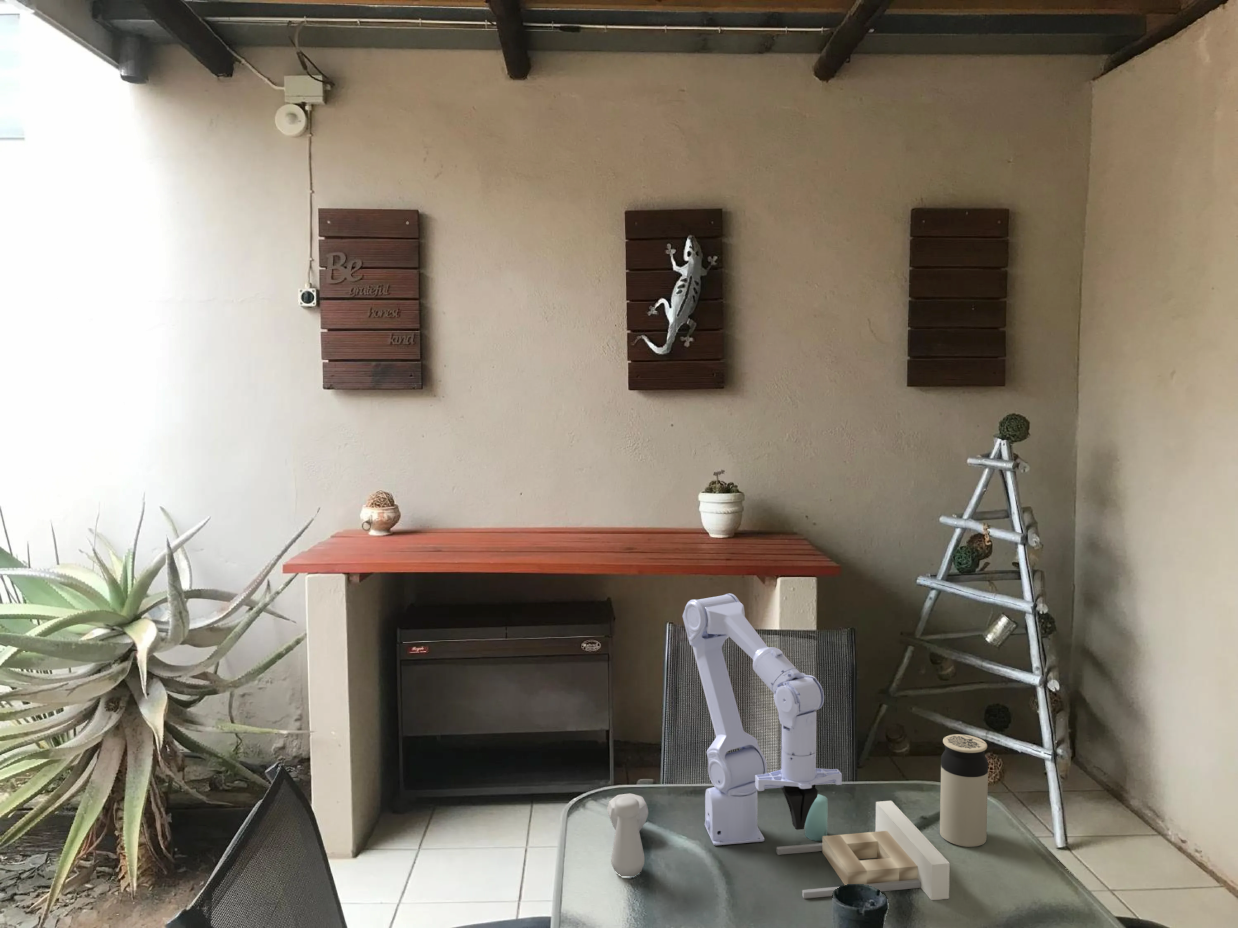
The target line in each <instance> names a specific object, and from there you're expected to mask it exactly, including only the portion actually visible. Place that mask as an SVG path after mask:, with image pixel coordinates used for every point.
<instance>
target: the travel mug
mask: <svg viewBox="0 0 1238 928" xmlns="http://www.w3.org/2000/svg"><path fill="white" fill-rule="evenodd" d="M942 743H943V744H944V751H943V753H942V754H941V756H940V796H939V797H940V798H939V799H940V803H939V807H940V808H939V835H940V836H941V838H943V839H944V840H945V841H947V842H948V843H951V844H952V845H955V846H959V847H966V848H973V847H978V846H979V847H980V846H981V845H984V844H985V843H986V842H987V833H988V832H987V830H988V829H987V828H988V827H987V825H988V793H989V792H988V791H989V790H988V789H989V787H988V785H989V760H988V759H987V757H986V754H985V752H986V751H987V748H988V744H987V742H986V741H984V740H983V739H981V738H979V737H977V736H974V735H970V734H956V733H955V734H949V735H947V736H944V737H943V739H942Z"/></svg>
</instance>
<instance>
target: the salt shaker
mask: <svg viewBox="0 0 1238 928" xmlns="http://www.w3.org/2000/svg"><path fill="white" fill-rule="evenodd" d="M639 806H640V805H639V802H638V800H637V799H635V798H633V797H628V796H627V797H621V798H619V799H618V800H617V801H616V802H615V807H614V809H615V814H616V815H617V816H618V820H617V826H616V830H615V833H614V839H613V840H614V841H613V845H612V850H611V851H612V852H611V858H610V863H611V865H612V868H613V870H614V872H615V871H616V872H617V873H618V874H620V875H621V876H635V875H637V874H638V873H640V872H641V873H642V870H643V868H644V865H645V860H646V859H645V853H644V849H643V843H642V839H641V834H640V833H641V832H640V831H639V828H638V823H637V818H636V816H637V815H638V814H639ZM641 873H640V874H641Z"/></svg>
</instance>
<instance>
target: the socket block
mask: <svg viewBox="0 0 1238 928" xmlns="http://www.w3.org/2000/svg"><path fill="white" fill-rule="evenodd" d="M821 843H822V851H821V853H822V854H823V855H824V857H825V858H826V859H827V861H828V863H829V865H830V866H831V867H832V868H833V870H834V871H835V873H836V874H837V876H838V877H839V879H840V880H841V882H842V884H844V885H843V886H845V885H847V884H873V883H883V882H894V881H905V880H916V879H917V867H918V866H917V865H916V864H915V863H914V861H913V860H912V859H911V858H910V857H909V856H908V855H907V853H906V852H905V851H904V850H903V849H902V848H901V846H900V845H899V844H898V843H897V842H896V841H895V839H894V838H893V837H892V836H891V835H890V834H889V832H888V831H878V832H875V831H868V832H857V833H856V832H854V833H845V834H834V835H827V836H823V840H822V842H821Z"/></svg>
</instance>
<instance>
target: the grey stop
mask: <svg viewBox="0 0 1238 928" xmlns="http://www.w3.org/2000/svg"><path fill="white" fill-rule="evenodd" d="M878 831H888V832H889V834H890V835H891V836H892V837H893V838H894V839H895V841H896V842H897V843H898V844H899V845H900V846H901V848H902V849H903V850H904V851H905V852H906V853H907V855H908V856H909V857H910V858H911V859H912V860H913V861H914V863H915V864H916V865H917V866H918V867H917V879H916V880H905V881H894V882H883V883H873V884H864V885H869V886H872V887H875V888H877V889H879V890H880V892H888V891H898V890H899V891H901V890H908V889H909V890H910V889H918V888H919V889H921V890H922V891H923V893H925V895H926V896H927V897H928V898H929V899H930V900H931V901H937V900H939V901H940V900H947V899H948V900H949V899H950V866H951V863H950V862H949V861H948V859H946V857H945V856H944V855H943V854H942V853H941V852H940V851H939V850H938V849H937V848H936V847H935V846H934V844H933V843H931V842H930V840H929V839H928V838H927V837H926V836H925V835H924V834H923V833H922V832H921V831H920V830H919V828H917V826H915V824H914V823H913V822H912V821H911V820H910V819H909V817H907V816H906V815H905V813H903V812H902V810H901V809H899V807H898V806H897V805H896V804H895V803H894V802H893V800H883V801H881V800H880V801H875V831H874V832H878ZM811 852H812V853H814V852H822V842H819V843H809V844H797V845H784V846H783V845H782V846H776V854H777V855H778V856H780V855H789V854H791V855H792V854H802V853H811ZM839 887H840V886H833V887H831V886H829V887H822V888H821V887H819V888H808V889H801V892H802V893H801V894H802V895H801V896H802V898H803V899H805V900H806V899H814V898H815V899H816V898H824V897H833V896H832V893H833V891H834V890H835V889H837V888H839Z"/></svg>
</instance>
